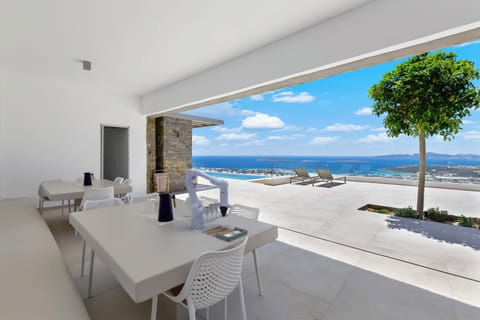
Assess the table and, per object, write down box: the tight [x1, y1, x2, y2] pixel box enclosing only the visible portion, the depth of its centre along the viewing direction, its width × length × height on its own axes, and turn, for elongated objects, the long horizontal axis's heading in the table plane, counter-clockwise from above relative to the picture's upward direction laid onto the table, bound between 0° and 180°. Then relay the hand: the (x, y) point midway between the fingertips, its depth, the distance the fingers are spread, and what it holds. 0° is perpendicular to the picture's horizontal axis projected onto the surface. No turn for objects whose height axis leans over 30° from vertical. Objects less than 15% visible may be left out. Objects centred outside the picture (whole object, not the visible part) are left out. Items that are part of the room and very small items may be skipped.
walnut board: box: [201, 225, 234, 238], centre depth 157 cm, size 15×18×1 cm
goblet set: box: [203, 201, 223, 224], centre depth 191 cm, size 28×6×13 cm, turn 144°
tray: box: [215, 226, 248, 243], centre depth 148 cm, size 11×18×4 cm, turn 139°
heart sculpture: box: [185, 196, 203, 220], centre depth 191 cm, size 16×5×18 cm, turn 60°
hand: (223, 216), depth 163 cm, fingers closed
